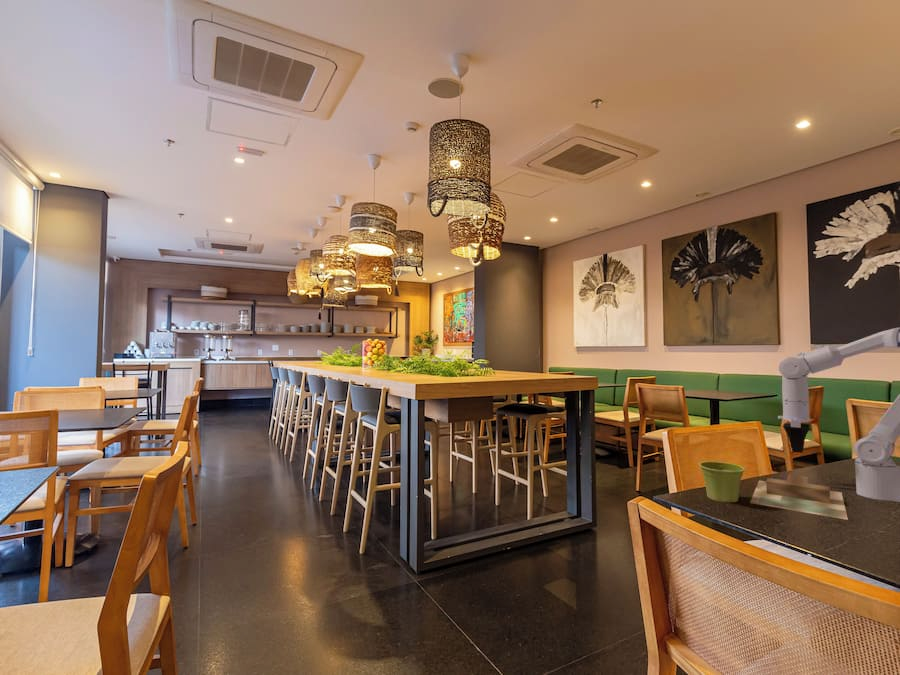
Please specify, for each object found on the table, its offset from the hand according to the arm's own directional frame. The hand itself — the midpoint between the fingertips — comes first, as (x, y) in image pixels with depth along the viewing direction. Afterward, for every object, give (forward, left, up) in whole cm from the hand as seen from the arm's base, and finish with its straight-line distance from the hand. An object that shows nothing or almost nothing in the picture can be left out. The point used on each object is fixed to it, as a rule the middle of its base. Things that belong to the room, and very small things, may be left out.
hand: (797, 450), depth 119 cm
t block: (0, +13, -8) cm, 15 cm away
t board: (0, +17, -9) cm, 19 cm away
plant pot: (+14, +29, -10) cm, 34 cm away
